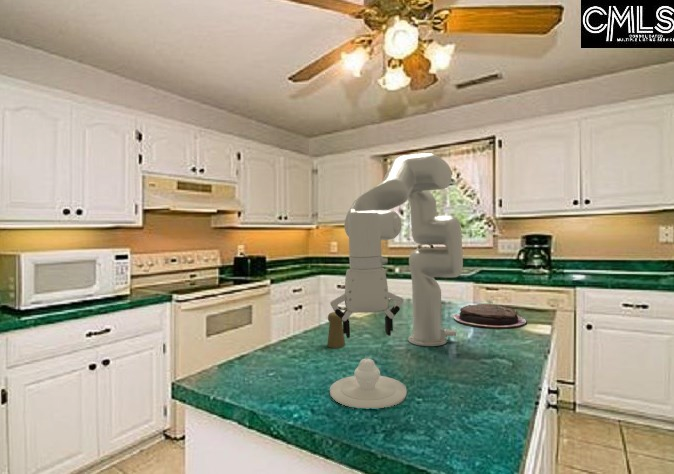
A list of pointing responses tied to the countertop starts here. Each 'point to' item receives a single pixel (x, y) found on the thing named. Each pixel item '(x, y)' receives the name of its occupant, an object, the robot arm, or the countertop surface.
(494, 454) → the countertop surface
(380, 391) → the plate
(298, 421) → the countertop surface
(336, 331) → the cork
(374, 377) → the muffin
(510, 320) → the chocolate cake
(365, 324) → the countertop surface
